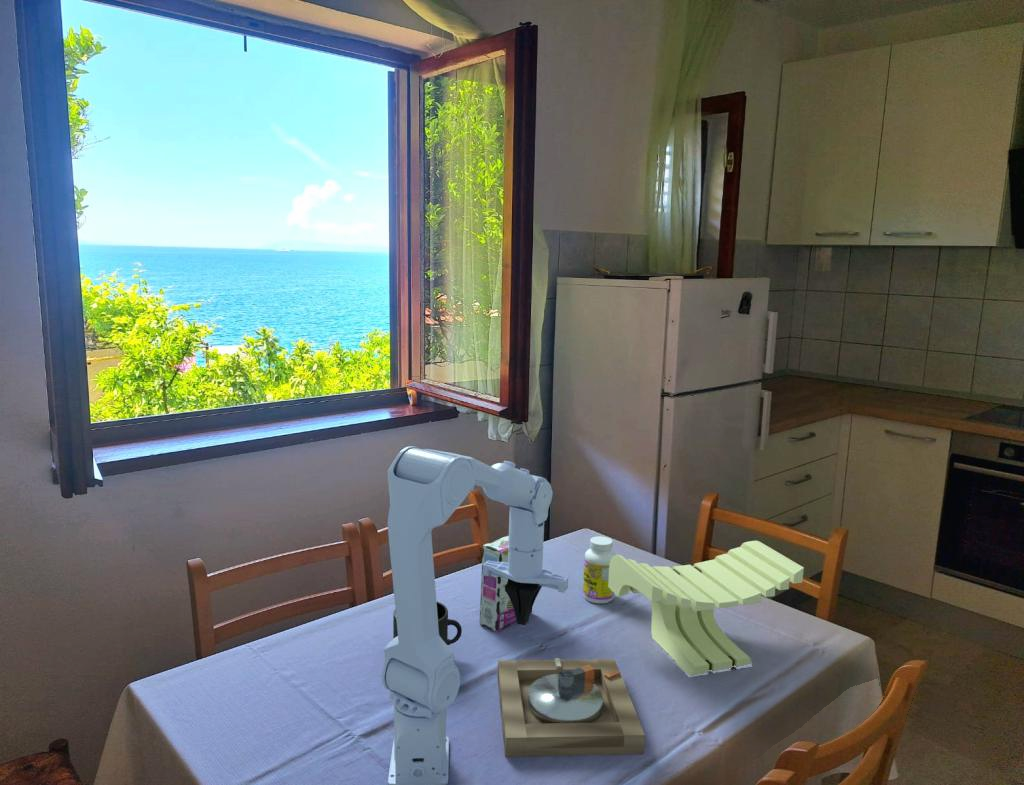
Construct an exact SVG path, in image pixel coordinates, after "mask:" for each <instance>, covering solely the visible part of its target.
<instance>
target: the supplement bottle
mask: <svg viewBox="0 0 1024 785" xmlns="http://www.w3.org/2000/svg"><path fill="white" fill-rule="evenodd" d="M613 542H614V541H613V539H612V538H610V537H607V536H593V537H591V538H590V541H589V546H590V548H589V549H587V550H586V551H585V553H584V564H583V566H584V567H583V581H582V596H583V598H584V599H585V600H587V601H588V602H590V603H593V604H599V605H600V604H602V605H603V604H607V603H610V602H612V601H613V600H614V598H615V593H614V592H613V591H612V590H611V589H610V588H609V587H608V579H609V565H610V561H611V558H612V557H613V556H614V555H617V554H616V553H615V552H614V551H613V550H612V549H613V547H614V546H613V545H614V544H613Z"/></svg>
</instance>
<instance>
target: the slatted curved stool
mask: <svg viewBox="0 0 1024 785" xmlns="http://www.w3.org/2000/svg"><path fill="white" fill-rule="evenodd" d="M804 569H805V567H804V566H802V565H800V564H798V563H797V562H795V561H794V560H791V559H790V558H789V557H786V556H785V555H783V554H782V553H779V552H778V551H776V550H775V549H773V548H771V547H770V546H768V545H766V544H764V543H763V542H761V541H759V540H751V541H750V540H749V541H745V542H742V543H741V545H740V546H739V547H738V546H737V547H735V548H731V549H729V550H728V551H727V553H723V554H719V555H715V557H714V559H710V560H705V561H700V562H696V563H694V564H693V565H691V564H685V565H673V566H672V567H670V566H657V565H652V566H650V565H649V564H648V563H643V562H639V563H638V561H636V560H634V559H630V558H627V559H626V558H625V557H624V556H623V555H620V554H616V555H614V556H613V557H612V558H611V561H610V565H609V579H608V587H609V588H610V589H611V590H612V591H613V592H614V595H616V597H618V598H619V597H623V596H626V595H628V594H629V592H632V594H640V593H641V594H642V595H643V596H644V597H645V598H647V599H648V600H649V601H650V604H651V606H650V607H651V626H650V627H651V629H650V630H651V633H650V634H651V637H652V640H653V639H654V640H655V641H656V642H657V643H658V644H659V645H660V646H661V647H662V648H663V649H664V650H665V651H666V652H667V653H669V655H670V656H671V657H672V659H674V660H675V661H676V663H677V664H678V665H679V666H680V667H681V668H682V669H683V670H684V671H685V672H686V673H688V674H689V675H690V676H693V675H698V674H704V673H710V672H709V670H712V671H718V670H724V669H729V668H732V666H734V665H735V666H736V667H739V666H744V665H748V664H753V663H752V658H751V657H750V656H749V655H747V654H746V653H745V652H744V651H743V650H742V649H741V648H740V647H738V645H737V644H736V643H734V642H733V641H732V640H731V639H730V638H729V637H728V636H727V635H726V633H724V631H723V630H722V629H721V627H720V626H719V625H718V623H717V621H716V619H715V614H714V612H715V611H714V610H715V607H716V608H718V609H724V608H731V607H738V605H739V604H740V605H741V606H746V605H752V604H753V605H754V604H761V602H762V601H761V600H762V596H763V597H765V598H768V597H775V596H776V589H777V590H778V591H785V590H789V588H790V583H792V584H793V585H794V584H800V583H801V584H802V583H803V579H804ZM672 659H671V660H672ZM676 663H675V664H676ZM677 664H676V665H677ZM678 665H677V666H678ZM679 666H678V667H679ZM680 667H679V668H680ZM681 668H680V669H681ZM682 669H681V670H682ZM732 669H733V668H732ZM683 670H682V671H683Z"/></svg>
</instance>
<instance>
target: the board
mask: <svg viewBox="0 0 1024 785" xmlns="http://www.w3.org/2000/svg"><path fill="white" fill-rule="evenodd" d="M588 664H589V665H591V666H592V667H593V668H594V669H595V670H594V684H595V685H596V686H597V687H598V688H599V689H600V691H601V692H602V695H603V706H602V712H601V715H600V716H599V717H598V719H596V720H595V721H594V722H592V723H553V724H547V723H545V722H543V721H541V720H540V719H538V718H537V717H536V716H534V715H533V713H532V712H531V711H530V709H529V706H528V691H529V688H530V686H531V685H532V683H533V682H535V681H536V680H537V679H539V678H541V677H544V676H547V675H552V674H559V672H561V671H564V670H567V671H570V670H573V669H577V668H580V667H582V666H585V665H588ZM496 676H497V687H498V697H499V706H500V715H501V727H502V729H501V730H502V736H503V738H502V739H503V746H504V747H503V748H504V756H505V758H512V757H513V758H514V757H515V758H519V757H523V758H524V757H525V758H526V757H561V756H564V757H565V756H566V757H567V756H568V757H569V756H598V755H599V756H603V755H604V756H605V755H607V756H608V755H612V756H613V755H639V754H638V753H644V752H645V742H646V740H645V739H646V734H645V732H644V728H643V727H642V724H641V721H640V719H639V716H638V714H637V712H636V709H635V706H634V704H633V701H632V698H631V697H630V693H629V691H628V689H627V686H626V684H625V681H624V679H623V676H622V673H621V671H620V669H619V665H618V664H617V661H616V658H605V659H604V658H601V659H599V658H593V659H592V658H591V659H590V658H589V659H585V658H583V659H582V658H581V659H560V657H554V659H524V660H523V659H519V660H517V659H516V660H514V659H513V660H512V659H511V660H506V659H505V660H504V659H503V660H501V659H500V660H499V659H498V660H497V675H496Z"/></svg>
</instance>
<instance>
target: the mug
mask: <svg viewBox="0 0 1024 785" xmlns="http://www.w3.org/2000/svg"><path fill="white" fill-rule="evenodd" d="M436 602H437V615H438V628H439V636H440V637H441V638H442V640H443V641H444V642H445V643H446V645H447V646H450V645H452V644H454V643H457V642H458V641H459V640H460V638H461V636H462V632H463V629H462V625H461V624H460V622H458V621H457V620H456V619H450V618H449V611H448V607H447V606H446V605H445V604H443V603H442V602H439V601H437V600H436ZM392 616H393V621H392V622H393V623H392V624H393V629H392V630H393V634H392V635H393V636H392V640H393V639H394V638H395V637H397V636H398V631H397V621H396V610H395V609H394V610H393V615H392ZM449 626H453V627H455V628H456V634H455V636H454V637H453V638H449V637H448V636H449V634H448V631H449V629H448V628H449Z"/></svg>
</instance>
